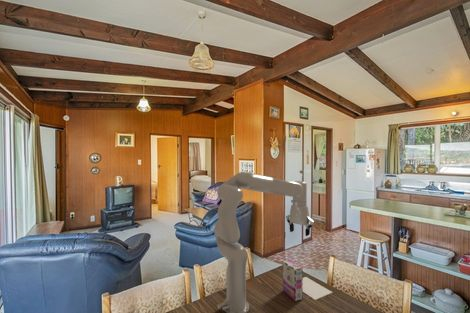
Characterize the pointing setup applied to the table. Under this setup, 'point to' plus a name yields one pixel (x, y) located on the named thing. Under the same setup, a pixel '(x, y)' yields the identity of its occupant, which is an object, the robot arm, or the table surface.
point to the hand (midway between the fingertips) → (299, 233)
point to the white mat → (314, 289)
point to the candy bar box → (292, 280)
